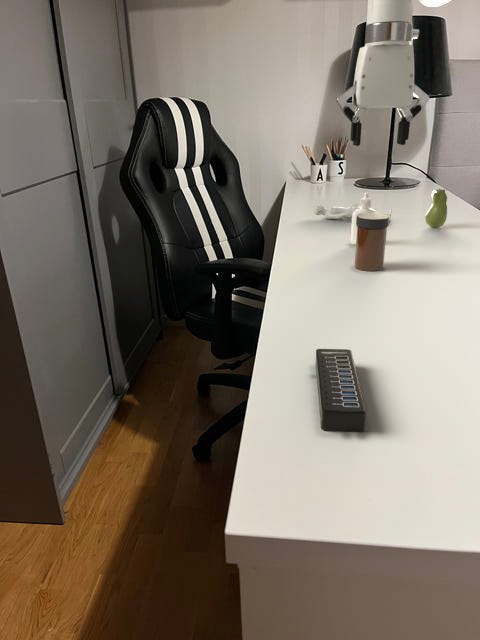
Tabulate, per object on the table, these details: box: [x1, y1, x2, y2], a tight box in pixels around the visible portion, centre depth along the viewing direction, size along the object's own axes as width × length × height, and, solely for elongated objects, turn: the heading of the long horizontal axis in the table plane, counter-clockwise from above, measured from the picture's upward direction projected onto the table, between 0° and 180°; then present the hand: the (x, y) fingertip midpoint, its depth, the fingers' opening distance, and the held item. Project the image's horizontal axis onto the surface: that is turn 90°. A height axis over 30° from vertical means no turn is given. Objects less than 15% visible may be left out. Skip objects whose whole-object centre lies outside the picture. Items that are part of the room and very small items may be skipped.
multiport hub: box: [314, 348, 367, 433], centre depth 57 cm, size 4×14×2 cm, turn 175°
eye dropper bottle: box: [350, 192, 378, 246], centre depth 118 cm, size 4×6×12 cm
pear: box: [424, 188, 448, 228], centre depth 133 cm, size 6×5×10 cm
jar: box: [353, 226, 388, 272], centre depth 101 cm, size 6×6×10 cm
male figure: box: [313, 203, 392, 224], centre depth 145 cm, size 10×4×22 cm
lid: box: [356, 212, 390, 229], centre depth 99 cm, size 6×6×2 cm
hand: (378, 144), depth 93 cm, fingers open, 7 cm apart
